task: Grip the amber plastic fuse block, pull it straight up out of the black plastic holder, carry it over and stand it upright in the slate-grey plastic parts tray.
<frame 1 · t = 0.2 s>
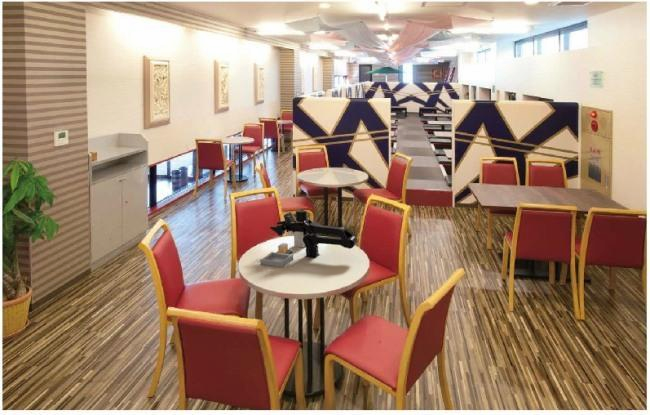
hand: (273, 225, 315), 17 cm above the table, tool horizontal, fingers open, 9 cm apart
supplement box: (302, 245, 330), on the table
tray: (277, 262, 301), on the table
fuse: (283, 254, 314), resting in holder
holder: (283, 253, 314), on the table
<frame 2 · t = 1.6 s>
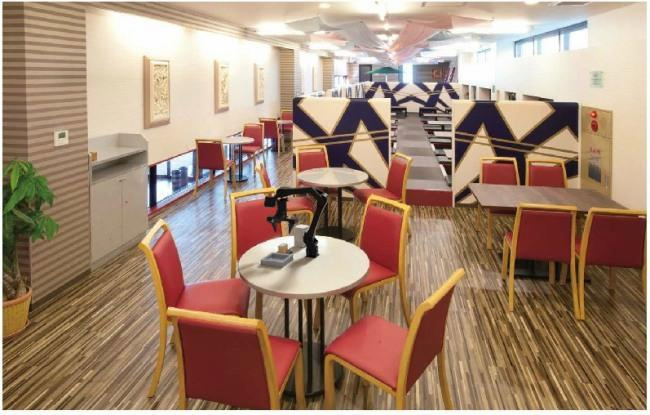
hand: (282, 233, 311), 13 cm above the table, tool pointing down, fingers open, 9 cm apart
nothing on the table moved.
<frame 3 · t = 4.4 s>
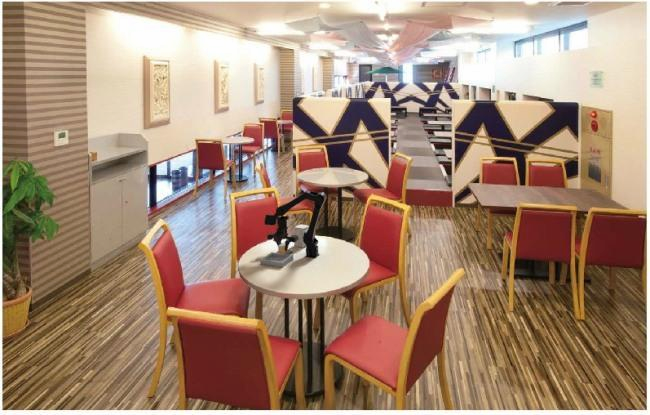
hand: (283, 250, 314), 2 cm above the table, tool pointing down, fingers closed on fuse, 3 cm apart
fuse: (283, 254, 314), resting in holder, touching gripper
everything else where it was.
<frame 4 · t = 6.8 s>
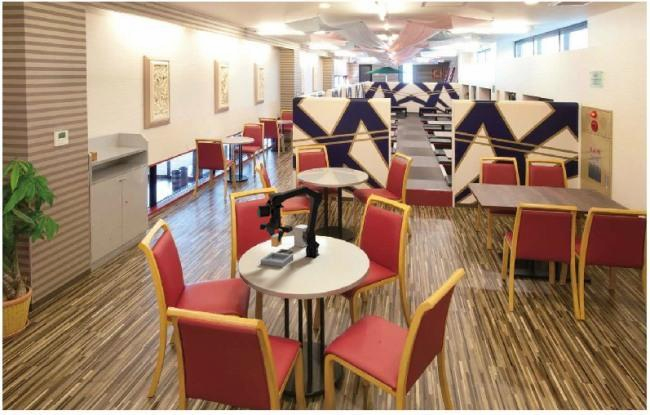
hand: (276, 241, 298), 12 cm above the table, tool pointing down, fingers closed on fuse, 3 cm apart
fuse: (276, 245, 299), point 10 cm above the table, touching gripper
everything else where it was.
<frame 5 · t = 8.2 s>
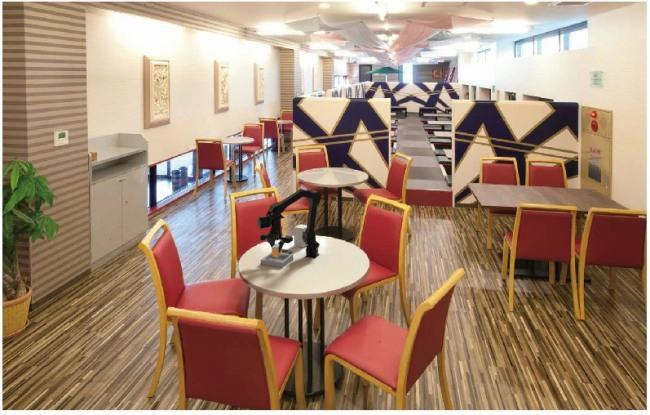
hand: (276, 252, 299), 6 cm above the table, tool pointing down, fingers closed on fuse, 3 cm apart
fuse: (277, 255, 300), point 4 cm above the table, touching gripper
everything else where it was.
when the fingers open (4 cm above the table, at t = 9.4 s): fuse drops 1 cm, resting on tray.
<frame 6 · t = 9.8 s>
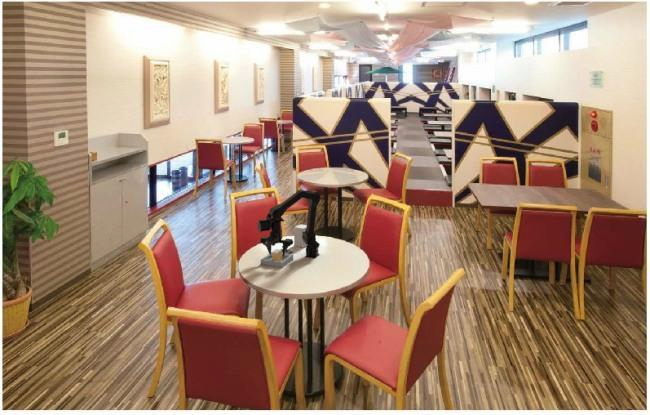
hand: (276, 255, 300), 4 cm above the table, tool pointing down, fingers open, 8 cm apart
fuse: (277, 260, 300), point 1 cm above the table, touching tray
everything else where it was.
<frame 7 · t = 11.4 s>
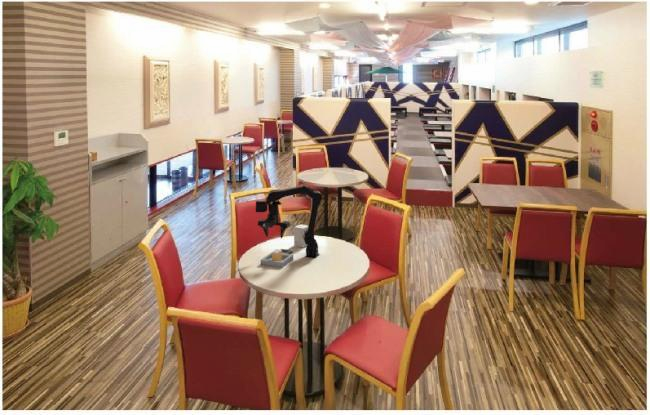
hand: (274, 237, 305), 13 cm above the table, tool pointing down, fingers open, 9 cm apart
nothing on the table moved.
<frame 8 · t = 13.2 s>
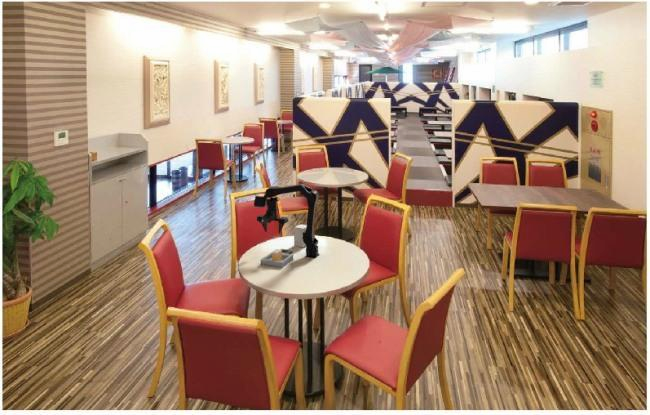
hand: (272, 232, 312), 13 cm above the table, tool pointing down, fingers open, 9 cm apart
nothing on the table moved.
at the end: fuse inside the target area on the tray (0.0 cm from its centre), point 0.8 cm above the tray's base; fuse tilted 0°; the gripper is holding nothing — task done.
